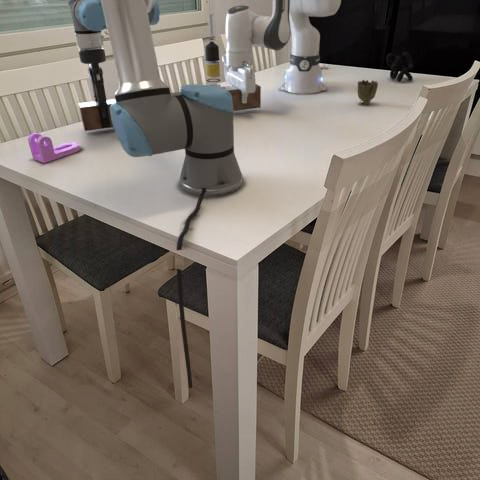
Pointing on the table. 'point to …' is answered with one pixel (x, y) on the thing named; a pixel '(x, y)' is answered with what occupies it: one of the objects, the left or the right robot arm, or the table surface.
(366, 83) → the cup
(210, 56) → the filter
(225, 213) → the table surface
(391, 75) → the squiggle
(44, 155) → the bracket
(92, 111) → the post
